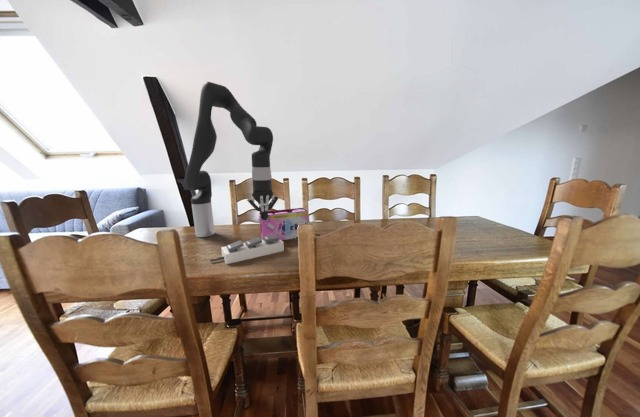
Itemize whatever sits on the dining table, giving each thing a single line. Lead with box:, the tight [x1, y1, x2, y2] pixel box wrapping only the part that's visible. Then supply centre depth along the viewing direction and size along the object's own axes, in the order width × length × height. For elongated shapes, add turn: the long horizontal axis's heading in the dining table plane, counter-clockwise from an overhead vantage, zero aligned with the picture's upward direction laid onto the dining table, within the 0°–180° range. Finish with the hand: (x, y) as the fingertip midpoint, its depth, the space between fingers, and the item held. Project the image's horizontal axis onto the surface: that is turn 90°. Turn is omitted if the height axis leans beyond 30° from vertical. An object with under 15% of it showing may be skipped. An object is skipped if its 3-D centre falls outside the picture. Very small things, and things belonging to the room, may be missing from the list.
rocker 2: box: [244, 236, 262, 248], centre depth 105 cm, size 5×6×1 cm
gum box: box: [257, 207, 309, 241], centre depth 125 cm, size 24×8×14 cm, turn 111°
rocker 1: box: [226, 239, 244, 252], centre depth 101 cm, size 5×6×1 cm
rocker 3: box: [261, 235, 280, 243], centre depth 109 cm, size 5×6×1 cm
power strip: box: [209, 238, 285, 265], centre depth 106 cm, size 9×29×5 cm, turn 121°
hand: (264, 219), depth 106 cm, fingers closed
